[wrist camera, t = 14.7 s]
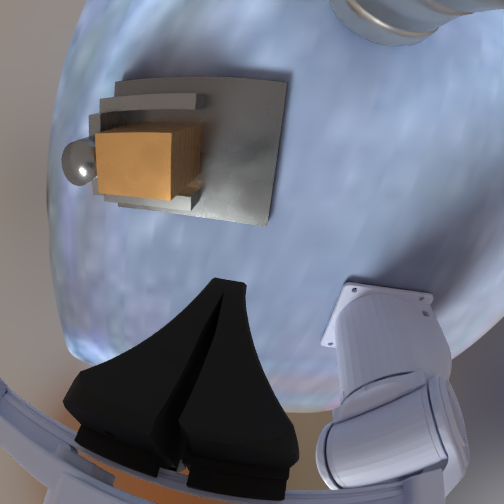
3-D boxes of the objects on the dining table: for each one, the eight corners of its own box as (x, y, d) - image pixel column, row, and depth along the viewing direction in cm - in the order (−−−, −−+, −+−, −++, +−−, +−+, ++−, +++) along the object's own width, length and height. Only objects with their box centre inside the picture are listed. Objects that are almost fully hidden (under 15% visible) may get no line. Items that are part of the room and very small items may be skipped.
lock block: (202, 123, 16) (171, 132, 12) (199, 174, 18) (170, 200, 14) (135, 122, 16) (91, 133, 12) (135, 169, 18) (95, 193, 14)
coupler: (287, 83, 15) (286, 74, 10) (267, 222, 20) (259, 266, 15) (111, 83, 15) (59, 86, 11) (114, 201, 21) (72, 234, 16)
